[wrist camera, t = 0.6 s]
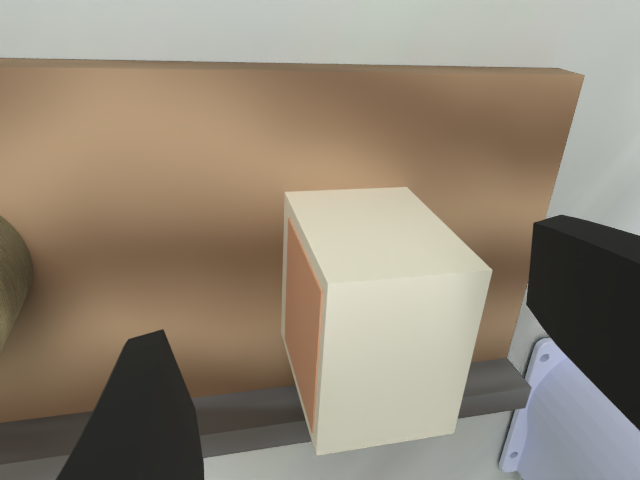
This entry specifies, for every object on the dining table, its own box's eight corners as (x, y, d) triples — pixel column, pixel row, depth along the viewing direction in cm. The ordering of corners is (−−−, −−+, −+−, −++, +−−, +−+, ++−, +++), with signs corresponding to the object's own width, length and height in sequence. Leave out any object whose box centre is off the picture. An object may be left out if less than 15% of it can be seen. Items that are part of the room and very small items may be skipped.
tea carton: (279, 333, 21) (314, 456, 15) (282, 192, 18) (326, 284, 13) (388, 322, 22) (454, 433, 17) (406, 186, 19) (492, 270, 14)
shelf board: (484, 359, 26) (524, 410, 23) (-87, 432, 20) (-132, 513, 17) (558, 68, 20) (626, 86, 17) (-245, 53, 14) (-359, 77, 11)
